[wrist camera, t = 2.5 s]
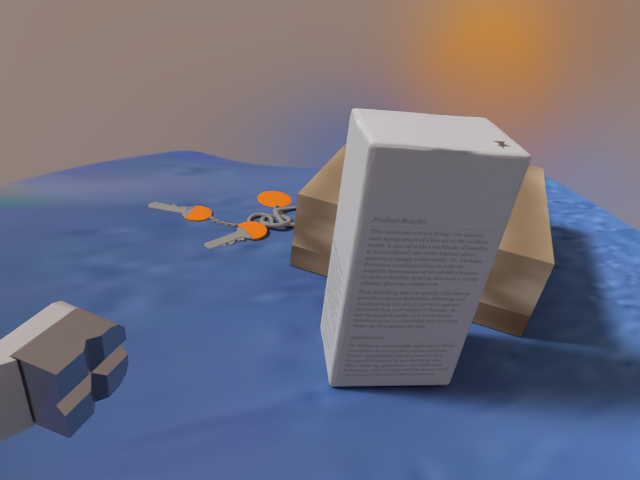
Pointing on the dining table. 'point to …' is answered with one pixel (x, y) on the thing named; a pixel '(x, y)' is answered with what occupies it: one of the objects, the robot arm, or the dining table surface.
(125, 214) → the dining table surface
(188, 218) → the key chain
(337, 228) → the skincare box
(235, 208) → the dining table surface
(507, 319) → the socket block
